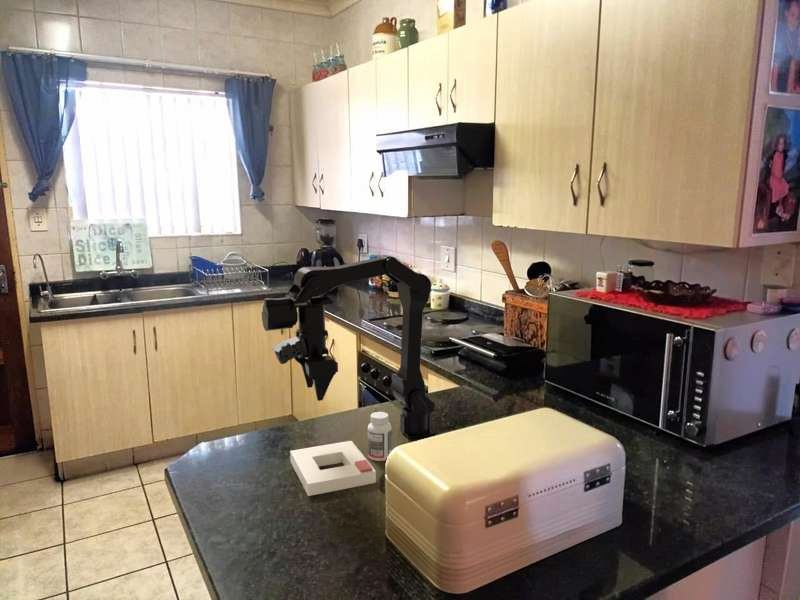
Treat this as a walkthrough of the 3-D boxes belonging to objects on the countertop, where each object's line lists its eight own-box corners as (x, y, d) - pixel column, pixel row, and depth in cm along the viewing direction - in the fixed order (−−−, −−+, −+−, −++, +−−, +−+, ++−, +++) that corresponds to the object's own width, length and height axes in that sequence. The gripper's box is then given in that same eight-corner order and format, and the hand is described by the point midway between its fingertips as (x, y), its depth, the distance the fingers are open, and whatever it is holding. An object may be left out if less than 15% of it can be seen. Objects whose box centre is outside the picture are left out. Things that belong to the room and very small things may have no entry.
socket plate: (351, 450, 133) (351, 438, 132) (375, 482, 118) (375, 468, 118) (290, 461, 127) (290, 448, 127) (308, 496, 113) (307, 481, 112)
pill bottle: (381, 449, 134) (381, 408, 132) (396, 457, 130) (396, 415, 128) (362, 455, 130) (362, 414, 129) (377, 464, 126) (377, 421, 125)
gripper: (267, 320, 132) (271, 385, 135) (283, 339, 115) (287, 413, 118) (315, 315, 136) (317, 379, 139) (337, 333, 119) (340, 405, 122)
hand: (314, 393), depth 130 cm, fingers open, 9 cm apart
